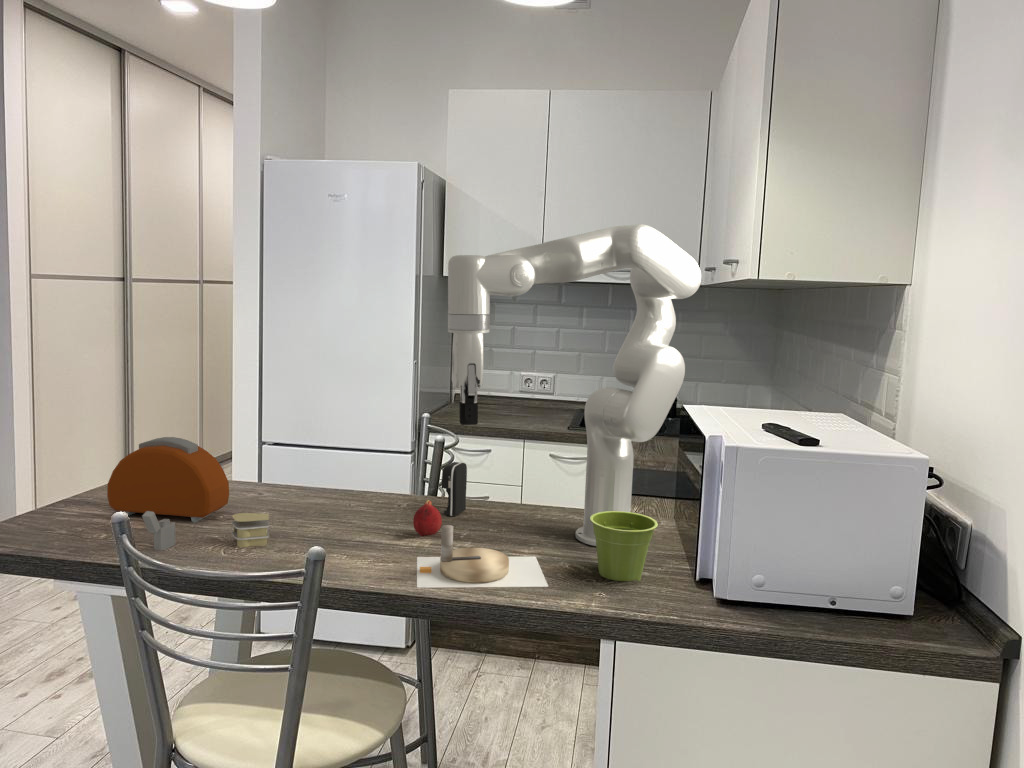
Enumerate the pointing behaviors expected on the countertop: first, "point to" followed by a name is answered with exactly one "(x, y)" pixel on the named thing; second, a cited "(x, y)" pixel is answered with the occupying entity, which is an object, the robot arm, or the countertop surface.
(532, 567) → the stand
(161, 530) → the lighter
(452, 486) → the battery charger
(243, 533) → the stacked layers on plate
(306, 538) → the countertop surface
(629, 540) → the plant pot
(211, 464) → the orange toaster
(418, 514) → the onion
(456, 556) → the capstan dial
